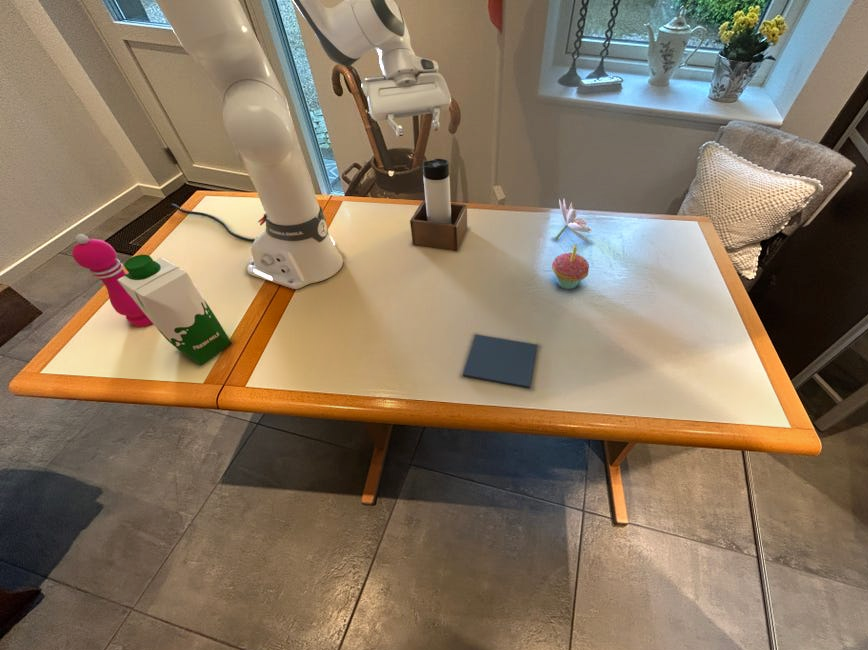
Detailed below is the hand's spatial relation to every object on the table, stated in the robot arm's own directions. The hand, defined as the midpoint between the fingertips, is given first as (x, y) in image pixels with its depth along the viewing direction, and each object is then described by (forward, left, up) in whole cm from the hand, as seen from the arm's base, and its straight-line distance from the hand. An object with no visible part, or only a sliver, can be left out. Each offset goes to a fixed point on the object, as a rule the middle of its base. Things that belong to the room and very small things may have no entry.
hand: (418, 132), depth 99 cm
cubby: (+7, -10, -22) cm, 25 cm away
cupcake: (+42, -22, -22) cm, 52 cm away
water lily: (+42, -2, -22) cm, 48 cm away
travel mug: (+7, -10, -22) cm, 25 cm away
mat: (+31, -50, -22) cm, 62 cm away
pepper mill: (-46, -55, -22) cm, 75 cm away
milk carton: (-28, -60, -22) cm, 70 cm away
